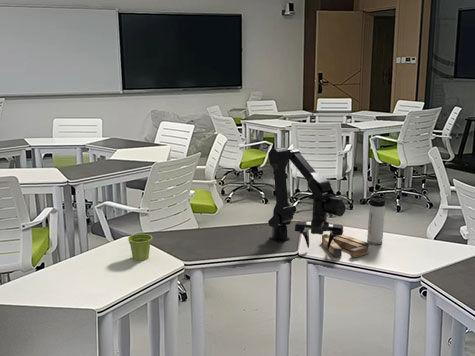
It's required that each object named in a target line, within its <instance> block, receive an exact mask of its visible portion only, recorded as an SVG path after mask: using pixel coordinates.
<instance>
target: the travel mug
mask: <svg viewBox="0 0 475 356" xmlns="http://www.w3.org/2000/svg"><path fill="white" fill-rule="evenodd" d="M368 208H369V209H368V222H367V235H366V236H367V239H366V242H367V243H369V245H373V246H378V245H382V244H383V238H384V224H385V223H384V222H385V211H386V198H385V197H384V196H380V195H379V194H377V195H376V194H374V195H372V196H370V198H369V206H368Z"/></svg>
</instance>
